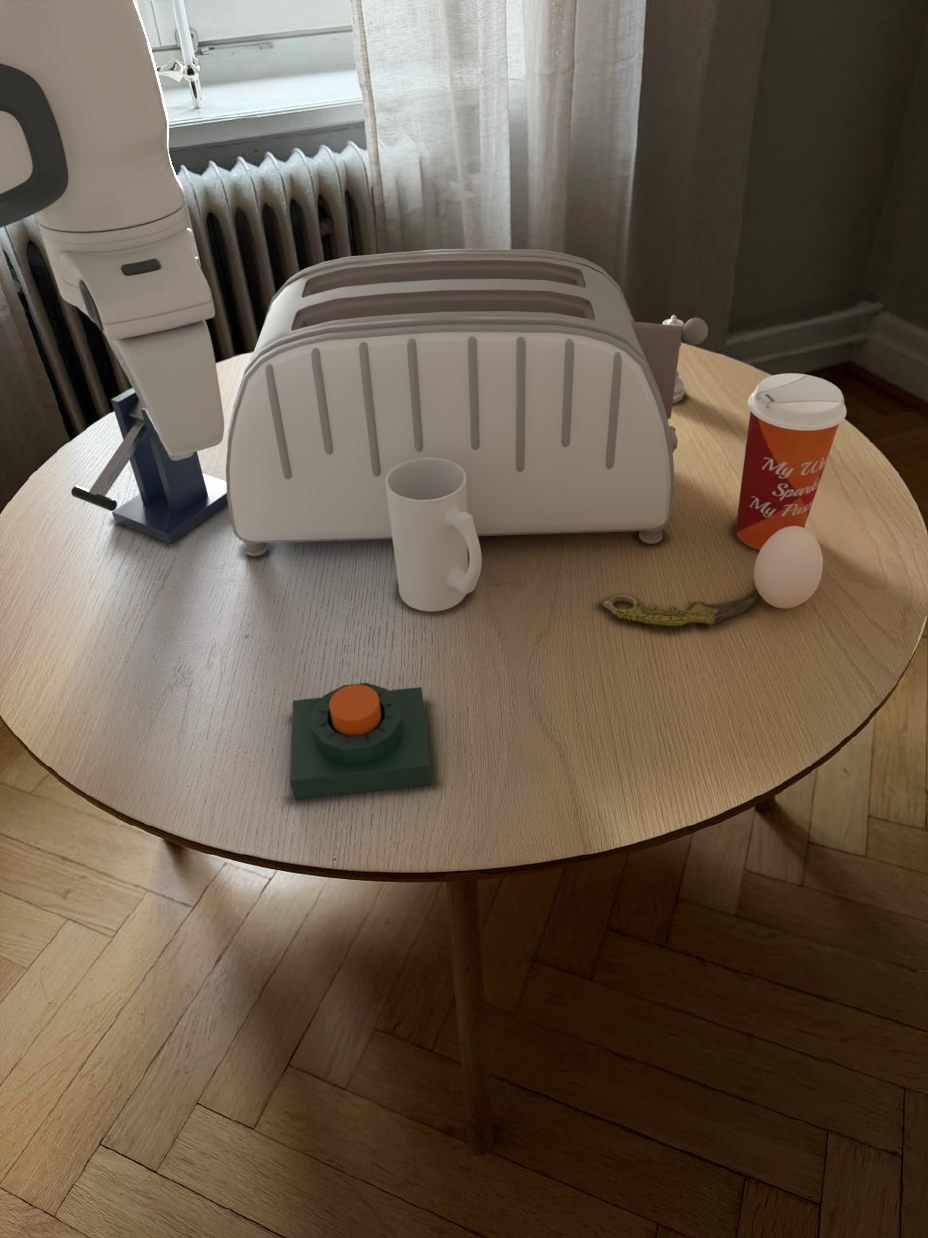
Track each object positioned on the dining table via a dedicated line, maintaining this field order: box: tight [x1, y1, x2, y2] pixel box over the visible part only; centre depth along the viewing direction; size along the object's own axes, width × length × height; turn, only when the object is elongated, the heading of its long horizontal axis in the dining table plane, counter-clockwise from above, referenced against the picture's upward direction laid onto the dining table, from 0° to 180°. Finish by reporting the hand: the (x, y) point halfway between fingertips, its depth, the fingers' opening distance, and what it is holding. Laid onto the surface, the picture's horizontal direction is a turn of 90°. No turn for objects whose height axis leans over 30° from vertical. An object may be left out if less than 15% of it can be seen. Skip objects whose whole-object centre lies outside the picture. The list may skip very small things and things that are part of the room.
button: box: [329, 684, 381, 736], centre depth 67 cm, size 4×4×2 cm
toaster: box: [225, 248, 709, 557], centre depth 88 cm, size 21×45×22 cm, turn 90°
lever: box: [70, 400, 148, 512], centre depth 87 cm, size 12×5×2 cm, turn 149°
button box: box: [289, 682, 433, 801], centre depth 68 cm, size 10×8×4 cm
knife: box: [602, 587, 760, 627], centre depth 80 cm, size 14×1×5 cm
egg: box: [753, 526, 824, 609], centre depth 79 cm, size 6×6×8 cm
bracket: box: [110, 387, 228, 545], centre depth 92 cm, size 10×8×13 cm
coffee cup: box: [735, 372, 847, 551], centre depth 84 cm, size 8×8×15 cm
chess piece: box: [662, 314, 685, 404], centre depth 107 cm, size 4×4×10 cm
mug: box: [385, 457, 483, 613], centre depth 79 cm, size 10×7×12 cm, turn 40°
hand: (178, 450), depth 67 cm, fingers closed
